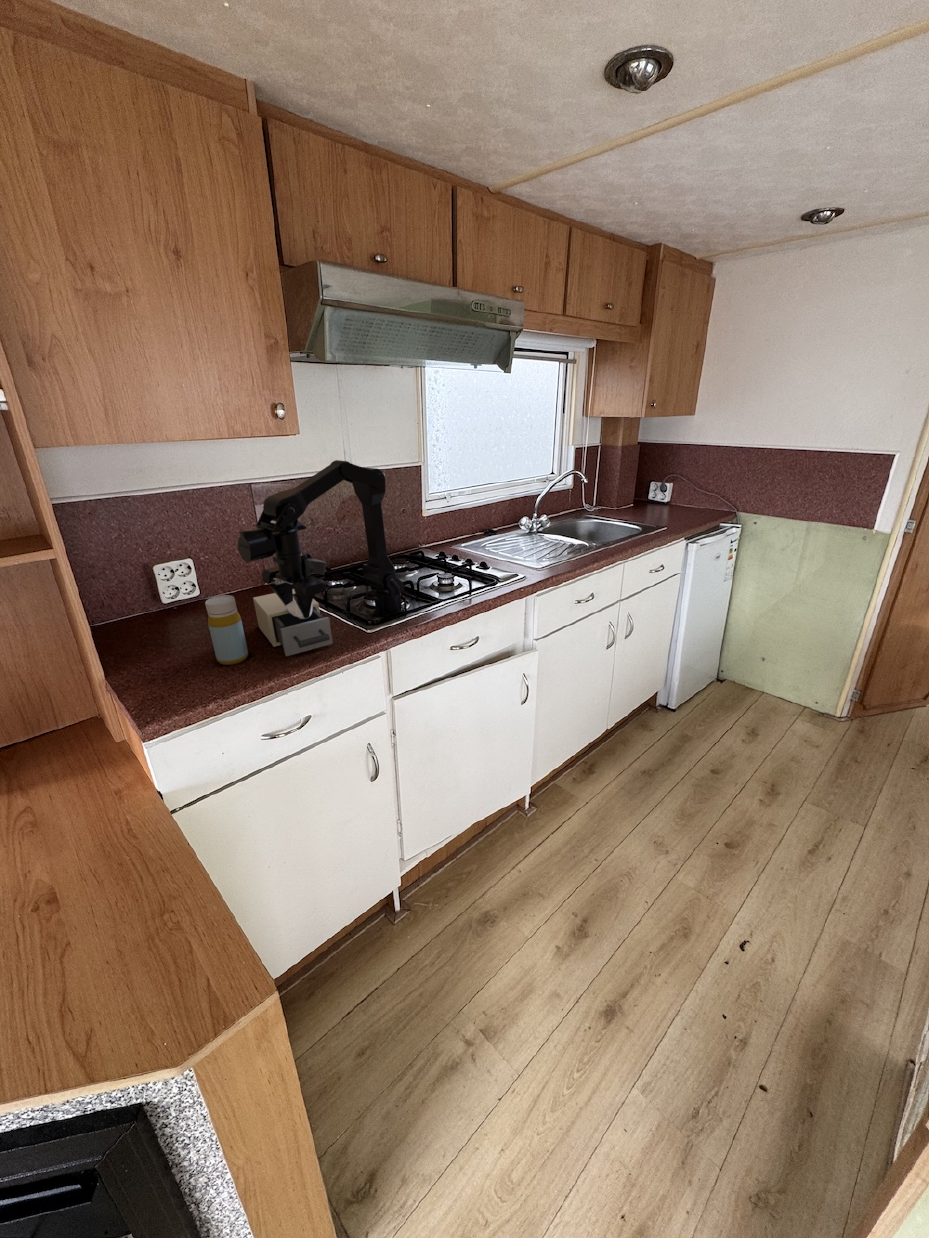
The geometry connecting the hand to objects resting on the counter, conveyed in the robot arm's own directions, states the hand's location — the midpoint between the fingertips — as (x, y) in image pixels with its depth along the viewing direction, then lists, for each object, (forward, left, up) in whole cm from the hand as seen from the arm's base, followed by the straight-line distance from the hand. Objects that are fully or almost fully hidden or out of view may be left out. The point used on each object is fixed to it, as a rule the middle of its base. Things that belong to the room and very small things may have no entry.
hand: (298, 614), depth 129 cm
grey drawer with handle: (0, +1, -8) cm, 8 cm away
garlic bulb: (0, 0, -1) cm, 1 cm away
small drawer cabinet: (0, -11, -9) cm, 14 cm away
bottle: (+16, -3, -9) cm, 19 cm away
